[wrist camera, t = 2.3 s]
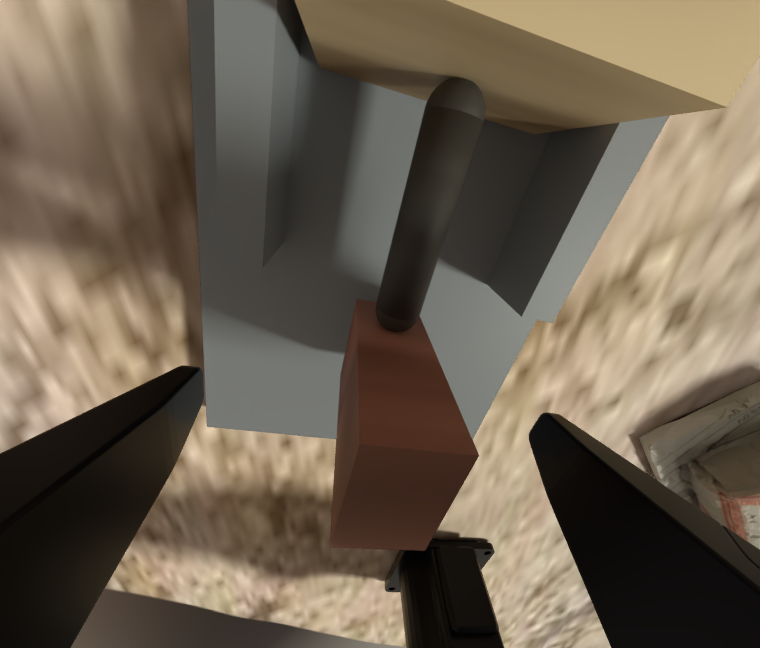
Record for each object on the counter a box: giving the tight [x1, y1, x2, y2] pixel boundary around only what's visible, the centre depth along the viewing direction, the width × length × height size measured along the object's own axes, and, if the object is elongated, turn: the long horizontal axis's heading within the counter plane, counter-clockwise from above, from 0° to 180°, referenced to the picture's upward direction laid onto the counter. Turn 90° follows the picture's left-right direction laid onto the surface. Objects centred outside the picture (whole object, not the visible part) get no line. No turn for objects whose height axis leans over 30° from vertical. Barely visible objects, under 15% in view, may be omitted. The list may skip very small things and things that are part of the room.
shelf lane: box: [187, 0, 670, 440], centre depth 8 cm, size 20×12×4 cm, turn 167°
